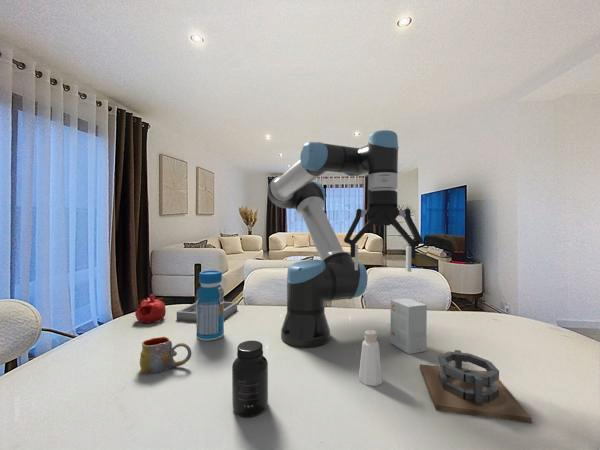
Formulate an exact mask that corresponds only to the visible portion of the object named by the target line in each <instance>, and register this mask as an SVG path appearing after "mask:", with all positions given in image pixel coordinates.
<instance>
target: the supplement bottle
mask: <svg viewBox="0 0 600 450" xmlns="http://www.w3.org/2000/svg"><path fill="white" fill-rule="evenodd" d="M236 347H237V353H236V358H235V360H233V363H232V366H231V375H232V377H231V379H232V380H231V385H232V386H231V387H232V388H231V389H232V393H231V396H232V397H231V398H232V399H231V401H232V410H233V411H234V413H235V414H236V415H238V416H239V417H242V418H252V417H256V416H259V415H261V414H262V413H264V411H266V409H267V407H268V404H269V403H268V402H269V366H268V365H269V363H268V360H267V358H266V357H265V356H264V350H263V347H264V346H263V343H262V342H261V341H258V340H246V341H242V342H240V343H239V344H238V345H237V346H236Z"/></svg>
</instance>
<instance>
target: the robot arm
mask: <svg viewBox="0 0 600 450" xmlns="http://www.w3.org/2000/svg"><path fill="white" fill-rule="evenodd" d="M398 139H399V138H398V134H397V132H395V131H393V130H388V129H387V130H384V129H383V130H381V129H380V130H377V131H376V130H375V131H373V132H372V133H370V135H369V136H368V142H367V143H368V144H366V145H365V146H362V147H354V146H353V147H352V146H345V145H337V144H331V143H323V142H320V141H309V142H306V143H304V144H303V147H302V149H301V151H300V157H299V158H300V159H299V160H298V161H296V162H295V163H294V164H293V165H292V166H291V167H290V168H288V170H287V171H285V172H284V173H283V174H282V175H278V176H276V177H275V178H273V179H272V180H271V181H270V183H269V184H268V187H267V196H268V198H269V200H270V202H272V204H273V205H276V206H277V207H278V208H281V209H288V210H289V209H291V210H292V209H293V210H296V213H297V216H299V217H301V218H303V220H304V222H305V225H306V227H307V229H308V233H309V234H310V237H311V239H312V242H313V244H314V247H315V249H316V252H317V253H318V256H319V259H305V260H300V261H296V262H294V263H292V264H290V265H289V266H288V268H287V274H286V276H287V277H286V314H285V318H284V320H283V323H282V327H281V328H280V329H281V330H280V339H281V340H282V342H284V343H286V344H287V345H290V346H293V347H297V348H298V347H299V348H315V347H319V346H323V345H325V344H327V343H328V342H330V340H331V330H330V327H329V323H328V320H327V316H326V314H325V313H326V311H325V303H326V302H333V301H340V300H341V301H342V300H351V299H354V298H359V297H361V296H363V294H364V293H365V291H366V289H367V287H368V286H367V285H368V281H369V280H368V279H369V277H368V271H367V269H366V266H365V265H364V263H362V262H359V245H358V244H357V243H358V242H359V241H360V240H361V239H362V238H363V236H364V235H365V234H366V233H367V231H369V229H370V228H371V227H372V226H373V225H374V226H384V227H385V226H387V227H388V226H389V227H390V226H392V227H394V229H395V230H396V231H397V232H398V233H399V235H400V236H401V237H402V238H403V239H404V241H406V243H407V244H408V245H405V271H407V272H410V273H411V272H412V259H415V258H416V247H417V246H418V245H422V244H423V243H424V240H423V238H422V236H421V234H420V232H419V230H418V228H417V226H416V223H414V221H413V218H412V215H411V209H410V208H405V209H399V208H398V191H396V190H397V189H398V172H399V171H398V164H399V163H398V162H399V161H398V160H399V158H398V156H399V148H400V147H399V140H398ZM331 172H332V173H341V174H345V175H346V176H348V177H353V176H354V177H357V176H359V177H360V176H361V175H365V174H367V173H368V177H367V178H368V179H367V181H368V182H367V185H368V186H367V190H369V192H368V193H367V195H368V196H367V197H368V198H367V201H368V202H367V205H368V206H367V209H362V208H357V209H356V210H355V211H356V212H355V217H354V220H353V221H352V223H351V225H350V227H349V229H348V231H347V233H346V235H345V237H344V239H343V241H344V243H345V244H347V245H349V246H350V253H349V252H348V251H344V248H343V247H342V245H341V243H340V241H339V239H338V237H337V235H336V232H335V230H334V229H333V227H332V224H331V223H330V220H329V217H328V216H327V214H326V212H325V210H324V208H325V204H326V201H327V197H326V191H325V188H324V186H323V184H321V183H319V182H317V181H316V182H315V179H317V178H319V177H320V176H322V175H324V174H325V173H331ZM365 215H366V216H367V217H368V219H369V220H368V221H367V222H366V223H365V225H364V226H363V227H362V228H361V229H360V230H359V232H357V234H356V235H355V236H354V237H352V235H353V234H354V232H355V230H356V228H357V226H358V224H359V222H360V220H361V218H363V217H364V216H365ZM399 215H400V216H401V218H403V219H404V221H405V223H406V225H407V227H408V229H409V231H410V233H411V235H412V237H413V238H412V237H411V235H410V234H409V233H408V232H407V231H406V229H404V228H403V227H402V225H401V224H400V222H398V220H397V218H398V216H399ZM351 237H352V239H351ZM353 258H354V260H353Z"/></svg>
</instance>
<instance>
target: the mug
mask: <svg viewBox="0 0 600 450" xmlns="http://www.w3.org/2000/svg"><path fill="white" fill-rule="evenodd" d="M141 347H142V349H141V352H140V355H139V356H140V357H139V366H140V371H139V374H141V375H143V374H158V373H161V372H164V371H166V370H168V369H172V368H176V367H181V366H183V365H185V364H187V363H188V361H190V359H191V357H192V353H193V351H192V349H191V347H190V346H189V345H188V344H186V343H184V342H180V343H177V344H175V345H173V342H172V340H170V338H169V337H167V336H160V337H152V338H149V339H146V340H144V341H142V342H141ZM179 347H183V348H185V350H186V351H187V355H186V356H185V358H184V359H182V360H175V359H174V357H176V356H177V355H178V353H177V351H176V349H177V348H179Z"/></svg>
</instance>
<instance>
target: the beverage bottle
mask: <svg viewBox="0 0 600 450" xmlns="http://www.w3.org/2000/svg"><path fill="white" fill-rule="evenodd" d="M222 277H223V273H222V271H221V270H215V269H214V270H213V269H211V270H204V271H203V270H202V271H200V272H199V274H198V282H199V284H200V286H199V287H198V289H197V291H196V298H197V300H196V301H195V303H196V307H197V322H196V338H197V339H198V340H199V341H207V342H208V341H210V342H211V341H215V340H218V339H220V338H221V337H223V336H224V334H225V328H224V326H225V324H224V321H225V319H224V303H225V302H226V301H225V299H224V295H225V290H224V288H223V286H222V285H221V283H222V282H223V281H222V280H223V278H222Z"/></svg>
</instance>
